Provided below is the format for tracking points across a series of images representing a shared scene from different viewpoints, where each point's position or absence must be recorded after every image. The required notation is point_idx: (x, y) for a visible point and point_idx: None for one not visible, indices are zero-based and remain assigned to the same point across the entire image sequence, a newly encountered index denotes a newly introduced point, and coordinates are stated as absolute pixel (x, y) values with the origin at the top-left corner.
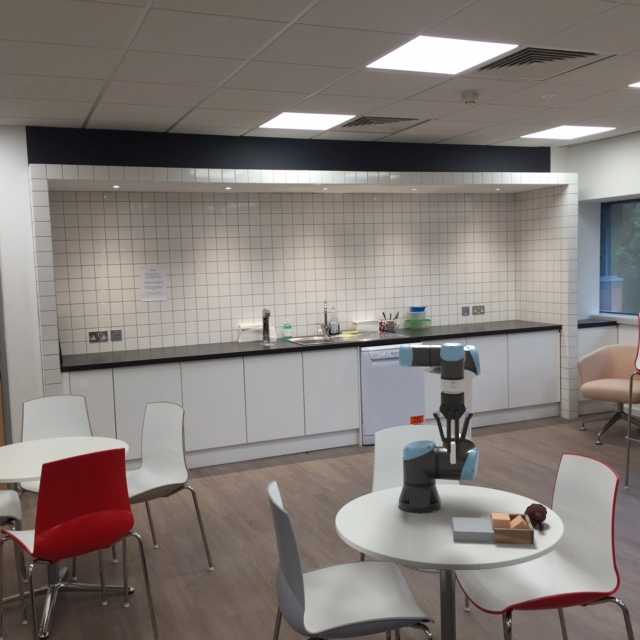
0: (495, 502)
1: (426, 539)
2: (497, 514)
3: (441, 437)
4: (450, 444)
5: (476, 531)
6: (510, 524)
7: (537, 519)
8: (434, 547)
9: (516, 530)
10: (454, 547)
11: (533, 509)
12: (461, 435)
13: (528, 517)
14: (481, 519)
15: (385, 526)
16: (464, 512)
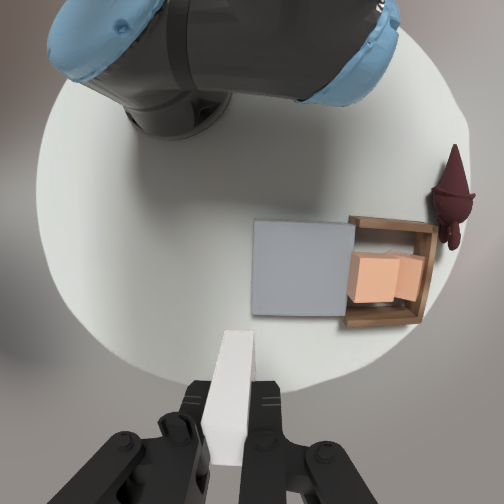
0: None
1: (191, 302)
2: (373, 268)
3: (124, 490)
4: (208, 450)
5: (305, 312)
6: None
7: (448, 245)
8: (209, 339)
9: (390, 324)
10: None
11: (455, 213)
12: (320, 487)
13: (435, 247)
14: (331, 233)
15: (104, 233)
16: (293, 122)
